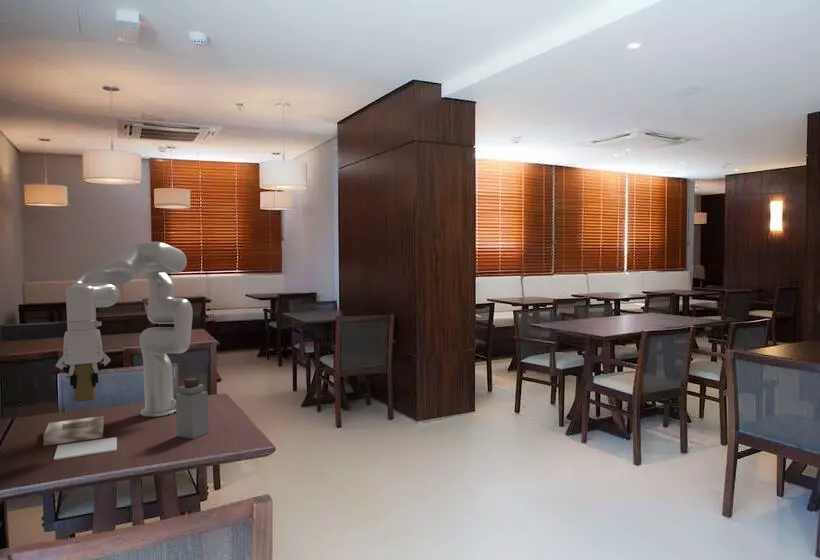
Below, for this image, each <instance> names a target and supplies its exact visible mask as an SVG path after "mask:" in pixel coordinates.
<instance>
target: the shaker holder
mask: <svg viewBox="0 0 820 560" xmlns="http://www.w3.org/2000/svg"><path fill="white" fill-rule="evenodd" d="M104 417H105V416H104V415H102V416H101V415H100V416H93V417H86V418H77V419H69V420H62V421H51V422H48V424H47V426H46V429H45V431H44V433H43V436H42V437H43V446H44V447H45V445H46V446H53V445H61V444H68V443H76V442H83V441H90V440H97V439H104V427H105V426H104V425H105V421H104V420H105V418H104Z"/></svg>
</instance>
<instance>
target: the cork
mask: <svg viewBox="0 0 820 560" xmlns="http://www.w3.org/2000/svg"><path fill="white" fill-rule="evenodd" d="M74 372H75V374H76V388H75V389H73V390H74V393H73V400H72V401H73V402H77V403H78V402H79V403H80V402H82V403H83V402H89V401H93V400H96V399H97V394H96V389H95V388H96V387H94V386H93V377H92V374H93V367H92V364H82V365H75V369H74Z"/></svg>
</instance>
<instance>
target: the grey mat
mask: <svg viewBox="0 0 820 560" xmlns="http://www.w3.org/2000/svg"><path fill="white" fill-rule="evenodd" d="M117 443H118V438H117V437H109V438H99V439H91V440H84V441H77V442H70V443H63V444H57V447H56V450H55V453H54V456H53V461H58V460H65V459H71V458H79V457H85V456H92V455H99V454H104V453H113V452H117V451H118V448H117V447H118V444H117Z"/></svg>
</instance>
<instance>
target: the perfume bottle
mask: <svg viewBox="0 0 820 560" xmlns="http://www.w3.org/2000/svg"><path fill="white" fill-rule="evenodd" d="M199 382H200V378H195V377H190V378H186V379H183V383H184V385H183V386H179V387H178V389H179V391H180V393H177V394H175V400H176V412H175V413H176V436H177V437H179V436H180V438H186V439H192V440H193V439H196V438H198V437H201V436H205V435H206V433H207V434H209V433H210V431H209V430H210V428H209V426H210V425H209V400H208V399H209V397H208V395H209V394H208V391H206V390H205V391H204V388H205V385H204V384H199Z"/></svg>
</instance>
